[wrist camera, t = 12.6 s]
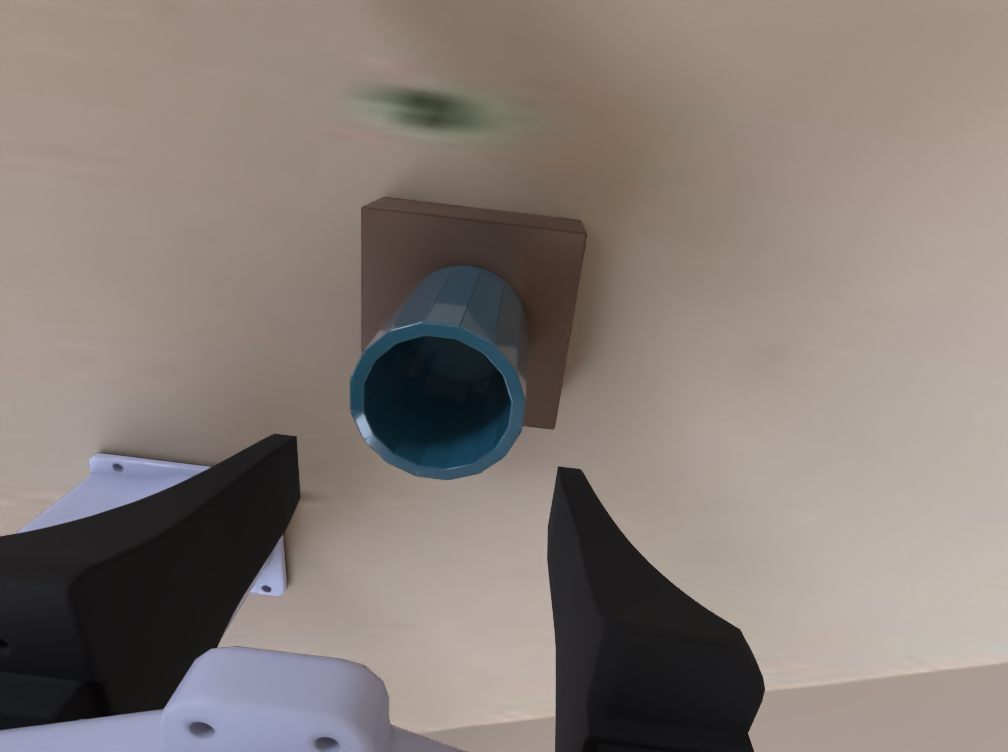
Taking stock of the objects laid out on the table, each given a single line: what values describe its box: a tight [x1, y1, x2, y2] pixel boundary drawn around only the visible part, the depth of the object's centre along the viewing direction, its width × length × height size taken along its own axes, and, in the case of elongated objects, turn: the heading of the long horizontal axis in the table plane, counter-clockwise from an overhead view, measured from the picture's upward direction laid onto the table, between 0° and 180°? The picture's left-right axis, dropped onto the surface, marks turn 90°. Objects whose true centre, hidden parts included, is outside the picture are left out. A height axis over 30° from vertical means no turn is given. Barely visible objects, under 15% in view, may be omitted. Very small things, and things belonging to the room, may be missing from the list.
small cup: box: [350, 265, 529, 480], centre depth 18 cm, size 5×5×6 cm
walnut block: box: [361, 197, 587, 430], centre depth 22 cm, size 8×8×3 cm
